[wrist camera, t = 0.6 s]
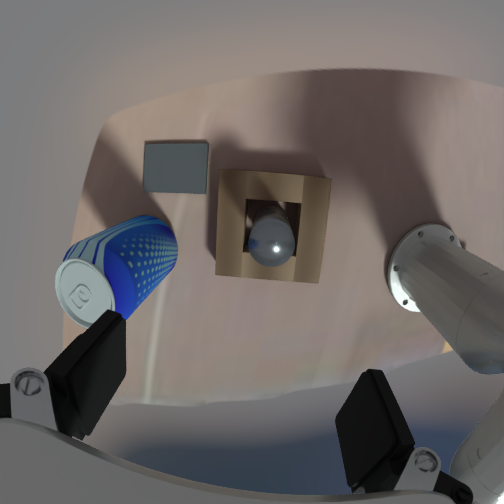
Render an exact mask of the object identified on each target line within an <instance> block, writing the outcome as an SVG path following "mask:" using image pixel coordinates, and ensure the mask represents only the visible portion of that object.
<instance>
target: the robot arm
mask: <svg viewBox="0 0 504 504" xmlns="http://www.w3.org/2000/svg"><path fill="white" fill-rule="evenodd" d="M418 233H419V234H418ZM394 266H395V267H394ZM393 267H394V268H393ZM387 278H388V286H389V289H390V292H391V294H392V296H393V298H394V299H395V300H396V302H397V303H398V304H399V305H400V306H401V307H403V308H405V309H407V310H409V311H413V312H422V313H423V315H424V316H425V317H426V318H427V319H428V320H429V321H430V322H431V324H432V325H433V326H434V327H435V328H436V329H437V330H438V332H439V333H440V334H441V335H442V336H443V337H444V339H445V340H446V341H447V342H448V343H449V345H450V346H451V347H452V348H453V349H454V351H455V352H456V353H457V354H458V355H459V356H460V358H461V359H462V360H463V361H464V362H465V364H466V365H467V366H468V367H469V368H471V369H472V370H473V371H475V372H478V373H480V374H485V375H492V374H500V373H504V271H503V270H501V269H499V268H498V267H496V266H494V265H492V264H490V263H489V262H487V261H485V260H483V259H482V258H480V257H478V256H476V255H474V254H472V253H470V252H469V251H467V250H465V249H463V248H462V247H461V244H460V242H459V240H458V238H457V237H456V235H455V234H454V233H453V232H452V231H451V230H450V229H448V228H446V227H444V226H442V225H439V224H433V223H430V224H423V225H420V226H417V227H416V228H414V229H412V230H411V231H409V232H408V233H407V234H406V235H405V236H404V237H403V238H402V239H401V240H400V241H399V243H398V244H397V246H396V248H395V249H394V251H393V253H392V256H391V258H390V262H389V266H388V274H387ZM125 374H126V320H125V319H124V318H122V314H121V313H118V312H115V311H112V310H109V309H107V310H106V311H105V312H104V313H103V314H102V315H101V316H100V317H99V318H98V319H97V320H96V321H95V322H94V323H93V324H92V325H91V326H90V327H89V328H88V329H87V330H86V331H85V332H84V333H83V334H80V335H79V336H77V337H76V338H75V339H74V341H73V342H72V343H71V344H70V345H69V346H68V347H67V348H66V349H65V350H64V351H63V352H62V353H61V354H60V355H59V356H58V357H57V358H56V359H55V360H54V362H53V363H52V364H51V365H50V366H49V367H48V368H47V369H46V370H45V371H44V372H41V371H40V370H38V369H35V368H23V369H20V370H18V371H17V372H16V373H15V374H13V376H12V378H11V382H10V383H7V384H0V504H504V387H503V389H502V390H501V392H500V393H499V395H498V397H497V399H496V400H495V402H494V403H493V404H492V406H491V407H490V408H489V410H488V411H487V412H486V414H485V415H484V416H483V418H482V419H481V420H480V421H479V423H478V424H477V425H476V427H475V428H474V429H473V430H472V431H471V433H470V434H469V435H468V436H467V437H466V439H465V440H464V441H463V443H462V444H461V445H460V447H459V448H458V450H457V451H456V453H455V455H454V457H453V459H452V462H451V465H450V472H449V475H447V474H445V473H444V472H442V471H440V468H441V462H440V458H439V457H438V455H437V454H436V453H435V452H434V451H432V450H431V449H428V448H423V447H420V448H417V449H414V445H415V441H414V439H413V437H412V434H411V432H410V430H409V427H408V425H407V423H406V421H405V418H404V416H403V414H402V411H401V410H400V407H399V405H398V403H397V400H396V399H395V396H394V394H393V392H392V390H391V388H390V386H389V383H388V381H387V379H386V377H385V375H384V373H383V371H382V370H376V369H368V370H366V372H363V373H362V374H361V376H360V377H359V379H358V381H357V383H356V384H355V386H354V388H353V390H352V391H351V393H350V395H349V396H348V398H347V400H346V402H345V403H344V404H343V406H342V408H341V409H340V411H339V412H338V414H337V416H336V419H335V423H336V428H337V433H338V438H339V443H340V448H341V453H342V458H343V463H344V468H345V473H346V478H347V484H348V486H349V487H351V489H352V493H363V492H365V493H363V494H348V495H286V494H285V495H284V494H271V493H261V492H252V491H245V490H237V489H231V488H224V487H219V486H214V485H209V484H204V483H200V482H195V481H191V480H187V479H183V478H179V477H175V476H172V475H168V474H165V473H161V472H158V471H154V470H151V469H148V468H145V467H142V466H140V465H137V464H134V463H131V462H128V461H126V460H123V459H120V458H118V457H115V456H113V455H110V454H108V453H105V452H103V451H100V450H98V449H96V448H93V447H91V446H89V445H87V444H85V443H83V442H80V441H78V440H76V439H74V438H72V436H74V437H76V438H78V439H80V440H83V438H84V437H85V435H88V436H89V435H90V434H91V433H92V431H93V429H94V427H95V426H96V424H97V422H98V421H99V419H100V417H101V415H102V414H103V412H104V410H105V409H106V407H107V405H108V404H109V402H110V400H111V399H112V397H113V395H114V394H115V392H116V390H117V389H118V387H119V385H120V384H121V382H122V381H123V379H124V377H125Z"/></svg>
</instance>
